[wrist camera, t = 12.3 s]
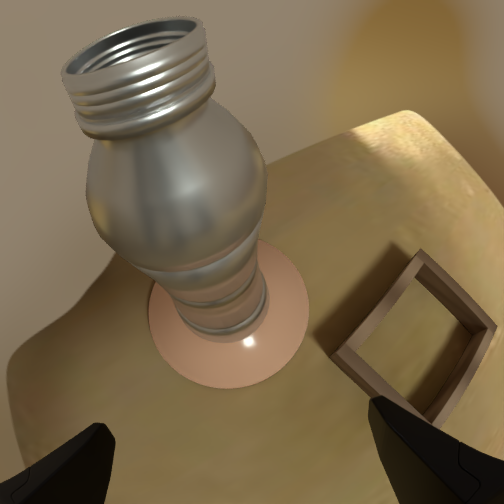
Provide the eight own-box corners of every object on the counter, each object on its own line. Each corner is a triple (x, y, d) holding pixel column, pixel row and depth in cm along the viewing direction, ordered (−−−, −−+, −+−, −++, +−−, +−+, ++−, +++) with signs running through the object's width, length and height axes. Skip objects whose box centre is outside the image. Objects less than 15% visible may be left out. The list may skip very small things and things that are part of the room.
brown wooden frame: (416, 438, 17) (430, 441, 15) (328, 357, 21) (335, 352, 19) (482, 333, 21) (497, 326, 18) (409, 260, 25) (420, 248, 22)
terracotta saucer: (219, 421, 19) (218, 422, 18) (125, 302, 24) (121, 299, 23) (339, 310, 23) (342, 307, 22) (235, 214, 28) (234, 209, 27)
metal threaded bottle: (251, 361, 21) (166, 135, 3) (171, 328, 22) (-22, 125, 4) (280, 286, 23) (305, 7, 6) (204, 259, 25) (119, 15, 7)
